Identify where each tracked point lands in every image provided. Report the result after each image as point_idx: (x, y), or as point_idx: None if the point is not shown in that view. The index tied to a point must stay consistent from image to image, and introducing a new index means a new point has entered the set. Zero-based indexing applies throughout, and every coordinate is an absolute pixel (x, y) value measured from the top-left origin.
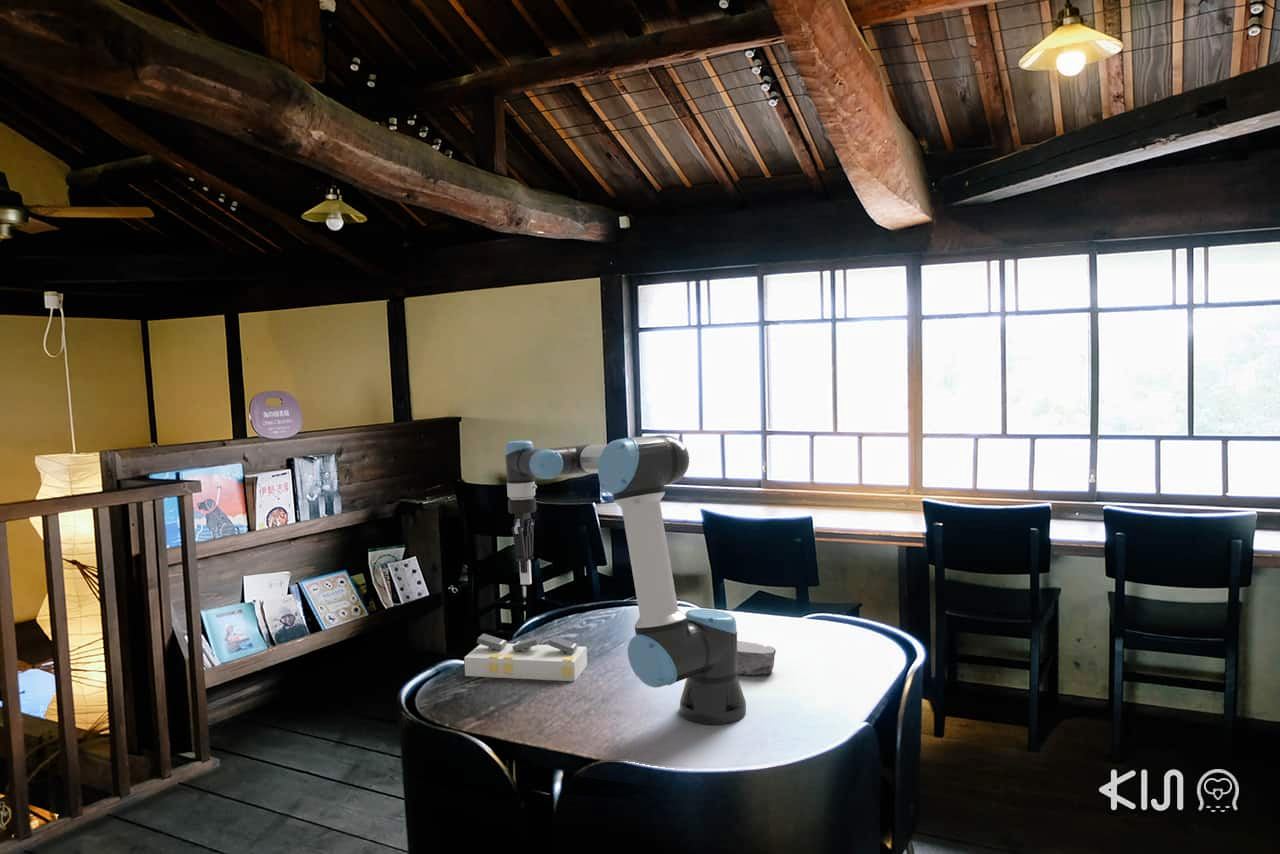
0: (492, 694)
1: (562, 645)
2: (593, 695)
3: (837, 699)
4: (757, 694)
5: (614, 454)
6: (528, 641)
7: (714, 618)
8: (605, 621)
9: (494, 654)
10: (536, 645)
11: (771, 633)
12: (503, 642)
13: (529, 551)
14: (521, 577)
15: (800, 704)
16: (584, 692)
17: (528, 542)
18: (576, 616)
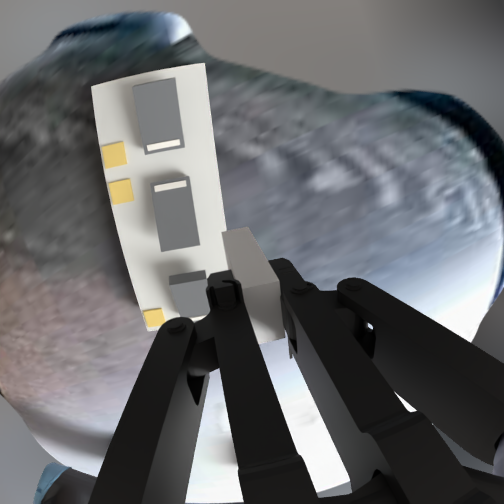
0: (44, 203)
1: (177, 306)
2: (114, 353)
3: (214, 493)
4: (201, 466)
5: None
6: (162, 227)
7: None
8: (453, 226)
9: (120, 149)
10: (217, 211)
11: None
12: (165, 147)
13: (301, 370)
14: (226, 251)
15: (193, 484)
16: (117, 339)
17: (325, 419)
18: (473, 164)
